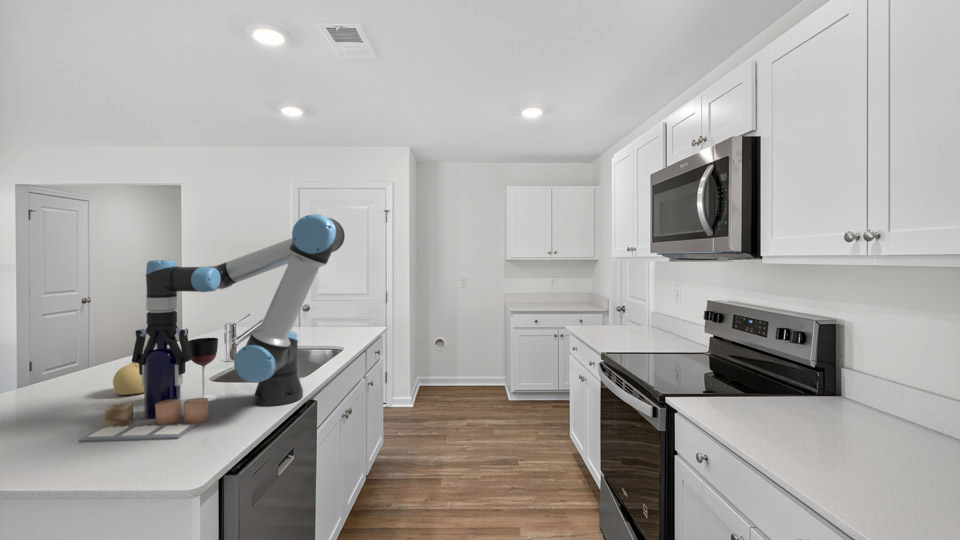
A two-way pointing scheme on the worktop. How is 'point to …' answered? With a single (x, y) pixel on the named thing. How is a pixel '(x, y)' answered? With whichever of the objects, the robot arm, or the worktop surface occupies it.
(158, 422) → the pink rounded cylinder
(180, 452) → the worktop surface
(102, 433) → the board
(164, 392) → the bottle
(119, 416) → the oak box
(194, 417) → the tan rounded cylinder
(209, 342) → the wineglass
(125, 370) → the yellow rounded lump
